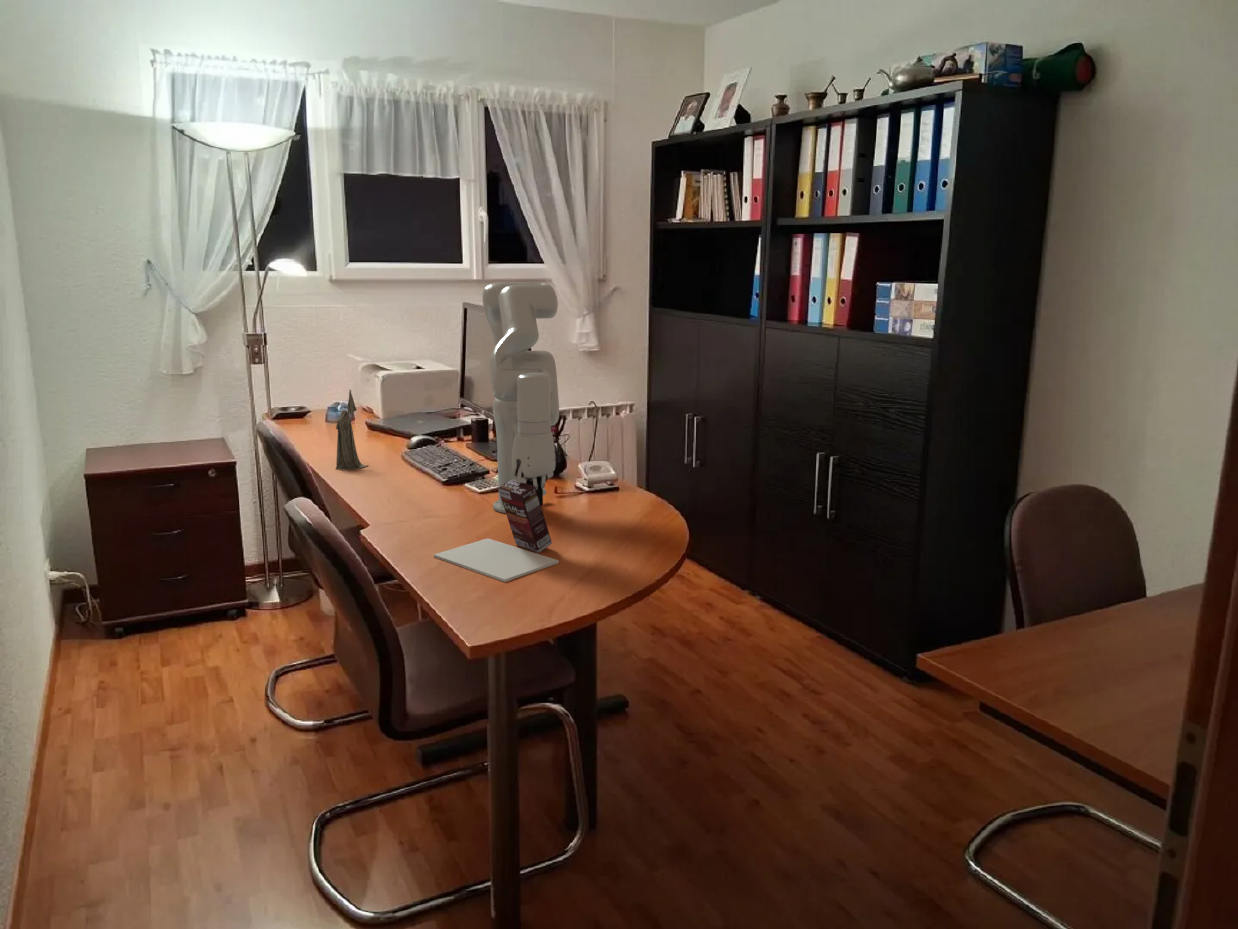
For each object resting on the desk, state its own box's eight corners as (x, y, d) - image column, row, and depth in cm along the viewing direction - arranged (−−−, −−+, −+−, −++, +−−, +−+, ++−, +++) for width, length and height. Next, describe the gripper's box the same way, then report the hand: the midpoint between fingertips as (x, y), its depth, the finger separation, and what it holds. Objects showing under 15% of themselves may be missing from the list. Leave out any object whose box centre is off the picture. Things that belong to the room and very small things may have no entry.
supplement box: (515, 545, 212) (496, 487, 205) (530, 535, 215) (512, 477, 208) (538, 554, 206) (520, 494, 199) (553, 543, 209) (535, 484, 202)
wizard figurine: (361, 462, 295) (355, 387, 290) (371, 467, 289) (365, 389, 283) (330, 466, 289) (324, 389, 284) (339, 471, 283) (333, 392, 277)
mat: (487, 540, 215) (487, 538, 215) (558, 563, 200) (558, 560, 200) (433, 557, 204) (433, 554, 203) (504, 582, 188) (504, 579, 188)
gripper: (545, 421, 212) (547, 496, 216) (498, 430, 201) (500, 508, 205) (568, 425, 208) (569, 501, 212) (521, 434, 196) (523, 514, 201)
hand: (535, 504), depth 209 cm, fingers closed
